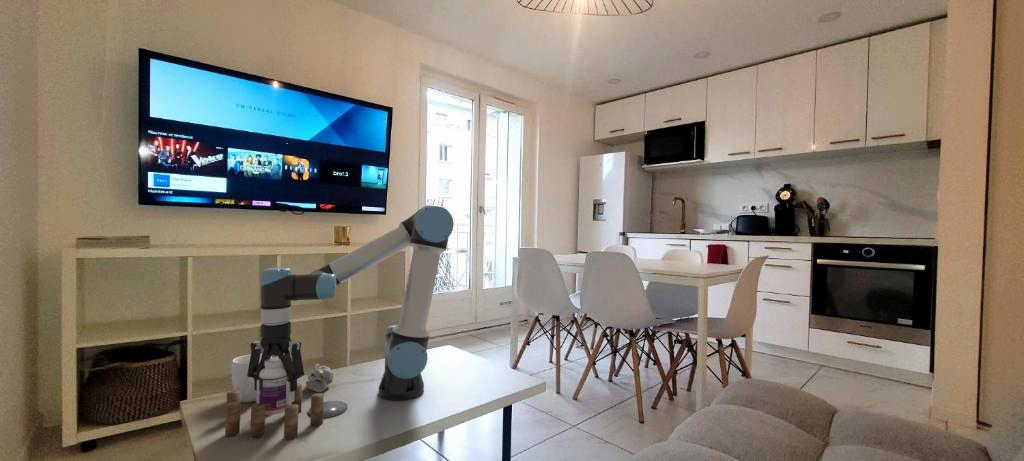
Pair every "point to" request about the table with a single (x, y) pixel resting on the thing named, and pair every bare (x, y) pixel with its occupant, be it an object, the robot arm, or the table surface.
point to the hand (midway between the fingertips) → (275, 401)
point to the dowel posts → (259, 415)
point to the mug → (243, 378)
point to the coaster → (332, 408)
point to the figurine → (319, 378)
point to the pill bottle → (273, 386)
